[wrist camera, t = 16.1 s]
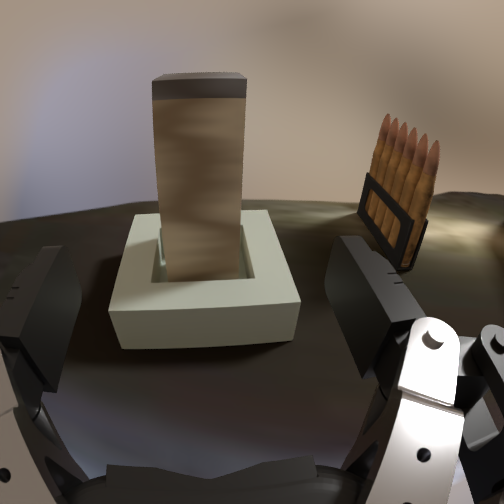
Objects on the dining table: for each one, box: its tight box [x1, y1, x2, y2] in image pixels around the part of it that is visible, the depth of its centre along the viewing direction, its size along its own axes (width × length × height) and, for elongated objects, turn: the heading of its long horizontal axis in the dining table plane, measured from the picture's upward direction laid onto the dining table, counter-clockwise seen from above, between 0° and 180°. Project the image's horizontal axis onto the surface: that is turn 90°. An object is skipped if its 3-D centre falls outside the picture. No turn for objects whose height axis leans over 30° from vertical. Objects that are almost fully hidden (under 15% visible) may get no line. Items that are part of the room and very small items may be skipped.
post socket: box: [108, 210, 301, 349], centre depth 23 cm, size 11×11×4 cm
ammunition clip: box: [357, 114, 440, 270], centre depth 28 cm, size 11×2×12 cm, turn 5°
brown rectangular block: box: [152, 72, 247, 282], centre depth 19 cm, size 4×4×14 cm
